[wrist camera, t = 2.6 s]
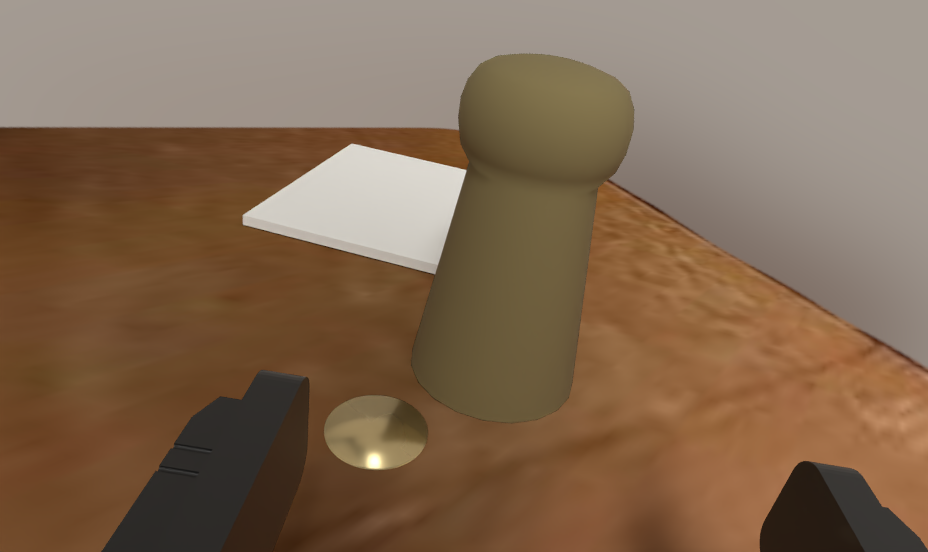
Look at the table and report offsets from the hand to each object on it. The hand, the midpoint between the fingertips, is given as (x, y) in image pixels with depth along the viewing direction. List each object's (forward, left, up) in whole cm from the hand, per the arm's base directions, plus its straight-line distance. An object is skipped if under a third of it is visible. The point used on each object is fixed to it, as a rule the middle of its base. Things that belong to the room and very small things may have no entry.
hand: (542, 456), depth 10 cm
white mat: (-9, +23, -7) cm, 25 cm away
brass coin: (-5, +6, -7) cm, 10 cm away
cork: (-2, +11, -7) cm, 13 cm away
